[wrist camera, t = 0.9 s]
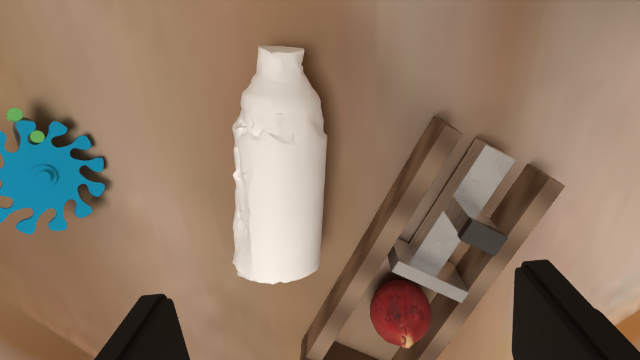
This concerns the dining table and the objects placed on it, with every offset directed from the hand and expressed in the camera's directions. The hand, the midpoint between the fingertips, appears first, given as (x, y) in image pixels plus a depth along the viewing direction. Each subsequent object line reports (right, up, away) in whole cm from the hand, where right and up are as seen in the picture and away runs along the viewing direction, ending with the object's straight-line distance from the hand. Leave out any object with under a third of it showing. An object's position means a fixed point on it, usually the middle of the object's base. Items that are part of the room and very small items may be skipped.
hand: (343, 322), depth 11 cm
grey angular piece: (+12, +1, +28) cm, 30 cm away
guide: (+9, -5, +31) cm, 32 cm away
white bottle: (-5, +6, +28) cm, 29 cm away
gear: (-25, +6, +28) cm, 38 cm away
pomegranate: (+7, -8, +32) cm, 34 cm away
